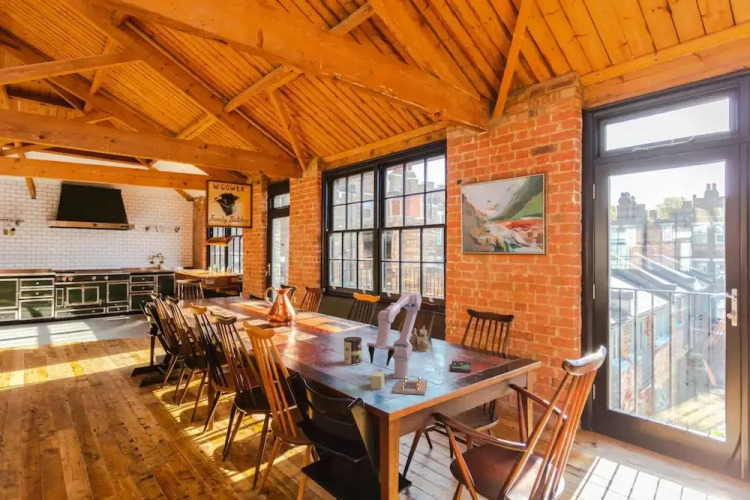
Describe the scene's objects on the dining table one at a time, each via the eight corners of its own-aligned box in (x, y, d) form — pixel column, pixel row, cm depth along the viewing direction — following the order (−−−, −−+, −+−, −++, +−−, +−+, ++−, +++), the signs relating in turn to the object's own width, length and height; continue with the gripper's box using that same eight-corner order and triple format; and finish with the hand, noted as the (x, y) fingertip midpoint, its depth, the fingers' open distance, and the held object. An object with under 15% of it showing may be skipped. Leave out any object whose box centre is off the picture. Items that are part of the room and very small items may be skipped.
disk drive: (451, 365, 236) (451, 372, 221) (451, 360, 236) (451, 367, 221) (470, 366, 234) (471, 373, 219) (470, 361, 234) (471, 368, 219)
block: (374, 383, 204) (374, 371, 204) (384, 384, 203) (384, 371, 203) (371, 388, 196) (370, 376, 196) (381, 389, 195) (381, 376, 195)
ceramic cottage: (409, 345, 282) (409, 323, 281) (433, 347, 277) (433, 325, 276) (403, 352, 268) (403, 329, 266) (428, 355, 262) (428, 331, 261)
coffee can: (363, 360, 244) (363, 336, 244) (359, 365, 234) (359, 340, 234) (346, 360, 246) (346, 336, 246) (341, 364, 236) (341, 340, 236)
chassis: (398, 382, 204) (398, 374, 204) (427, 384, 201) (427, 375, 201) (393, 393, 190) (393, 384, 190) (424, 395, 187) (424, 386, 187)
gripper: (367, 333, 198) (362, 362, 195) (397, 337, 195) (393, 367, 192) (369, 333, 205) (365, 361, 202) (398, 337, 202) (395, 366, 199)
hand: (379, 364), depth 198 cm, fingers open, 7 cm apart
